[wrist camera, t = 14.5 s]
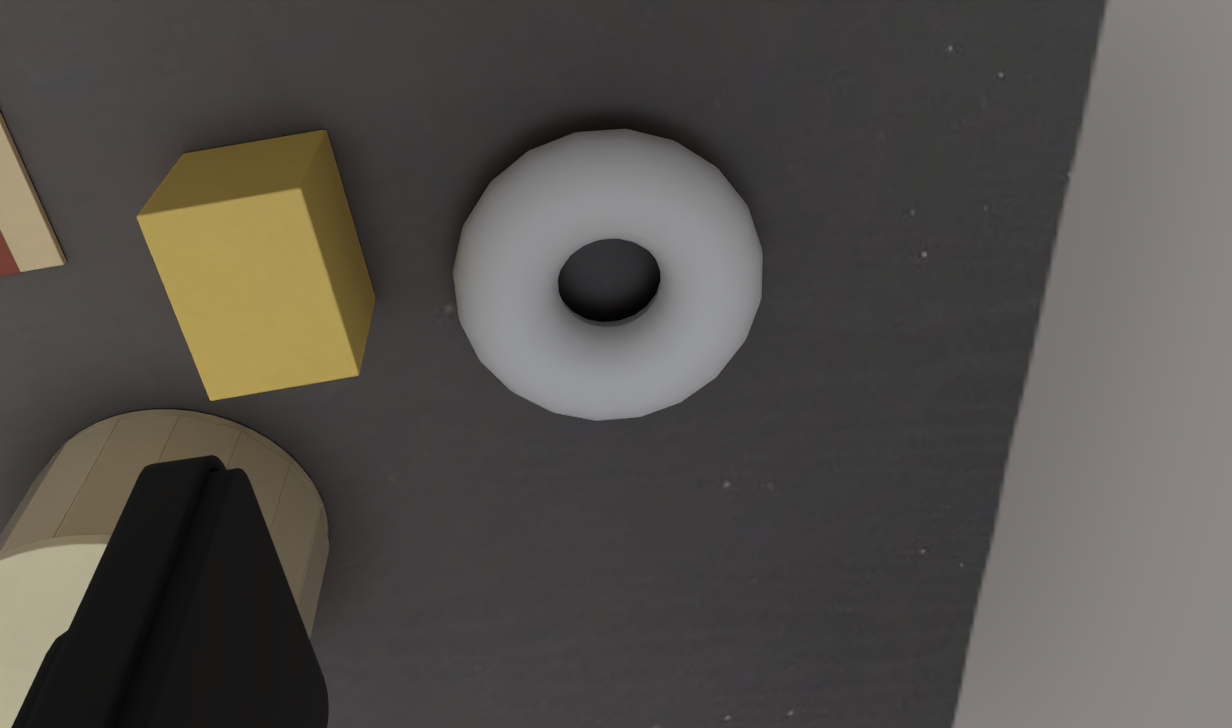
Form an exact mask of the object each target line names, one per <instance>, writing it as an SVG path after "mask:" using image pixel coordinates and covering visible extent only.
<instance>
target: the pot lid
mask: <svg viewBox="0 0 1232 728" xmlns="http://www.w3.org/2000/svg"><path fill="white" fill-rule="evenodd" d="M110 537H111V535H110V534H82V535H70V536H62V537H53V538H48V539H44V540H40V541H35V542H31V543H27V544H24V545H21V546H18V547H15V548H13V549H10V550H7V551H4V552H2V553H0V728H11V727H12V725H13V723H14V721H15V719H16V717H17V714H18V712H19V710H20V708H21V706H22V704H23V702H24V699H25V697H26V695H27V693H28V691H29V689H30V687H31V685H32V682H33V680H34V678H35V676H36V674H37V672H38V670H39V668H40V665H41V663H42V661H43V659H44V657H45V655H46V653H47V651H48V650H49V648H50V647H51V645H52V644H53V642H54V641H55V639H56V638H57V637H59V636H60V635H61V634H63V633H64V632H66V631H67V630H68V629H69V627H70V625H71V622H72V620H73V618H74V616H75V614H76V612H77V609H78V607H79V605H80V603H81V601H82V598H83V596H84V594H85V592H86V590H87V588H88V585H89V583H90V581H91V579H92V577H93V574H94V572H95V570H96V568H97V566H98V564H99V561H100V559H101V557H102V555H103V553H104V550H105V548H106V546H107V544H108V542H109V539H110Z"/></svg>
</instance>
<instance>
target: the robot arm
mask: <svg viewBox="0 0 1232 728" xmlns="http://www.w3.org/2000/svg"><path fill="white" fill-rule="evenodd" d="M327 724H328V694H327V688H326V683H325V680H324V677H323V674H322V671H321V669H320V666H319V663H318V661H317V658H316V655H315V653H314V650H313V647H312V645H311V642H310V639H309V637H308V634H307V631H306V629H305V626H304V623H303V621H302V618H301V615H300V613H299V610H298V607H297V605H296V602H295V599H294V597H293V594H292V591H291V589H290V586H289V583H288V581H287V578H286V575H285V573H284V570H283V567H282V565H281V562H280V559H279V557H278V554H277V551H276V549H275V546H274V543H273V541H272V538H271V535H270V533H269V530H268V527H267V525H266V522H265V519H264V517H263V514H262V511H261V509H260V506H259V503H258V501H257V498H256V495H255V493H254V490H253V487H252V485H251V482H250V480H249V478H248V476H247V474H246V473H245V471H244V470H243V469H240V468H234V469H228V470H227V469H226V467H225V465H224V463H223V462H222V461H221V460H220V459H219V458H218V457H217V456H214V455H208V456H201V457H195V458H188V459H181V460H174V461H167V462H161V463H154V464H150V465H147V466H145V467H144V468H143V470H142V471H141V473H140V474H139V476H138V478H137V481H136V483H135V485H134V487H133V489H132V491H131V494H130V496H129V498H128V500H127V502H126V505H125V507H124V509H123V511H122V513H121V515H120V518H119V520H118V522H117V524H116V526H115V529H114V531H113V533H112V535H111V537H110V539H109V542H108V544H107V546H106V548H105V550H104V553H103V555H102V557H101V559H100V561H99V564H98V566H97V568H96V570H95V572H94V574H93V577H92V579H91V581H90V583H89V585H88V588H87V590H86V592H85V594H84V596H83V598H82V601H81V603H80V605H79V607H78V609H77V612H76V614H75V616H74V618H73V620H72V622H71V625H70V627H69V629H68V630H67V631H66V632H64V633H63V634H61V635H60V636H59V637H57V638H56V639H55V641H54V642H53V644H52V645H51V647H50V648H49V650H48V651H47V653H46V655H45V657H44V659H43V661H42V663H41V665H40V668H39V670H38V672H37V674H36V676H35V678H34V680H33V682H32V685H31V687H30V689H29V691H28V693H27V695H26V697H25V699H24V702H23V704H22V706H21V708H20V710H19V712H18V714H17V717H16V719H15V721H14V723H13V725H12V727H11V728H327Z"/></svg>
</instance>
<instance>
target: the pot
mask: <svg viewBox="0 0 1232 728" xmlns="http://www.w3.org/2000/svg"><path fill="white" fill-rule="evenodd" d="M208 455H214V456H217V457H218V458H219V459H220V460H221V461H222V462H223V463H224V465H225V467H226V469H227V470H228V469H234V468H240V469H243V470H244V471H245V473H246V474H247V476H248V478H249V480H250V482H251V485H252V487H253V490H254V493H255V495H256V498H257V501H258V503H259V506H260V509H261V511H262V514H263V517H264V519H265V522H266V525H267V527H268V530H269V533H270V535H271V538H272V541H273V543H274V546H275V549H276V551H277V554H278V557H279V559H280V562H281V565H282V567H283V570H284V573H285V575H286V578H287V581H288V583H289V586H290V589H291V591H292V594H293V597H294V599H295V602H296V605H297V607H298V610H299V613H300V615H301V618H302V621H303V623H304V626H305V629H306V631H307V634H308V637H309V639H310V638H311V633H312V629H313V624H314V619H315V614H316V610H317V605H318V600H319V595H320V591H321V586H322V581H323V577H324V572H325V567H326V562H327V558H328V553H329V541H328V538H329V529H328V519H327V515H326V511H325V508H324V504H323V502H322V500H321V497H320V495H319V493H318V491H317V489H316V487H315V485H314V484H313V482H312V481H311V479H310V478H309V476H308V475H307V473H306V472H305V471H304V470H303V469H302V468H301V466H300V465H299V464H298V463H297V462H296V461H295V460H294V459H293V458H292V457H291V456H290V455H289V454H288V453H286V452H285V451H284V450H283V449H282V448H280V447H279V446H278V445H276V444H275V443H273V442H272V441H271V440H269V439H268V438H266V437H264V436H262V435H261V434H259V433H257V432H255V431H254V430H252V429H250V428H247V427H245V426H243V425H240V424H238V423H236V422H233V421H230V420H227V419H224V418H221V417H218V416H214V415H210V414H205V413H200V412H195V411H186V410H176V409H152V410H143V411H134V412H130V413H126V414H121V415H117V416H114V417H111V418H108V419H105V420H103V421H100V422H97V423H95V424H93V425H91V426H89V427H88V428H86V429H84V430H82V431H80V432H79V433H78V434H76V435H75V436H73V437H72V438H71V439H69V440H68V441H67V442H66V443H65V444H64V445H63V446H62V447H61V448H60V449H59V450H58V451H57V452H56V453H55V454H54V455H53V457H52V458H51V460H50V461H49V462H48V464H47V465H46V467H45V468H44V469H43V470H42V471H41V472H40V473H39V475H38V476H37V477H36V479H35V480H34V482H33V483H32V485H31V487H30V488H29V490H28V491H27V493H26V495H25V496H24V498H23V500H22V501H21V503H20V504H19V506H18V508H17V509H16V511H15V512H14V514H13V516H12V517H11V519H10V521H9V522H8V524H7V525H6V527H5V529H4V530H3V532H2V533H1V535H0V553H2V552H4V551H7V550H10V549H13V548H15V547H18V546H21V545H24V544H27V543H31V542H35V541H40V540H44V539H48V538H53V537H62V536H70V535H82V534H110V535H112V533H113V531H114V529H115V526H116V524H117V522H118V520H119V518H120V515H121V513H122V511H123V509H124V507H125V505H126V502H127V500H128V498H129V496H130V494H131V491H132V489H133V487H134V485H135V483H136V481H137V478H138V476H139V474H140V473H141V471H142V470H143V468H144V467H145V466H147V465H150V464H154V463H161V462H167V461H174V460H181V459H188V458H195V457H201V456H208Z"/></svg>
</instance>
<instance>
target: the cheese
mask: <svg viewBox="0 0 1232 728" xmlns="http://www.w3.org/2000/svg"><path fill="white" fill-rule="evenodd" d="M137 219H138V222H139V224H140V227H141V229H142V232H143V234H144V237H145V239H146V242H147V244H148V247H149V249H150V252H151V254H152V257H153V259H154V262H155V264H156V267H157V269H158V272H159V274H160V277H161V279H162V282H163V284H164V287H165V289H166V292H167V294H168V297H169V299H170V302H171V304H172V307H173V309H174V312H175V314H176V317H177V319H178V322H179V324H180V327H181V329H182V332H183V334H184V337H185V339H186V341H187V344H188V346H189V349H190V351H191V354H192V356H193V359H194V361H195V364H196V366H197V369H198V371H199V374H200V376H201V379H202V381H203V384H204V386H205V389H206V391H207V394H208V396H209V399H210V400H211V401H214V400H219V399H225V398H231V397H237V396H243V395H249V394H254V393H260V392H266V391H272V390H278V389H284V388H289V387H295V386H301V385H307V384H313V383H319V382H324V381H330V380H336V379H342V378H348V377H354V376H358V375H359V373H360V369H361V364H362V360H363V355H364V351H365V346H366V342H367V337H368V333H369V328H370V324H371V319H372V315H373V310H374V306H375V301H376V298H375V294H374V291H373V287H372V284H371V281H370V277H369V274H368V270H367V267H366V263H365V260H364V257H363V253H362V250H361V246H360V243H359V239H358V236H357V233H356V229H355V226H354V222H353V219H352V215H351V212H350V209H349V205H348V202H347V198H346V195H345V191H344V188H343V185H342V181H341V178H340V174H339V171H338V167H337V164H336V161H335V157H334V154H333V150H332V147H331V143H330V140H329V137H328V133H327V131H326V130H318V131H313V132H307V133H301V134H295V135H289V136H283V137H278V138H272V139H266V140H260V141H254V142H248V143H242V144H237V145H231V146H225V147H219V148H213V149H207V150H202V151H196V152H190V153H184V154H182V156H181V157H180V158H179V160H178V161H177V162H176V164H175V165H174V167H173V168H172V169H171V171H170V172H169V173H168V175H167V176H166V177H165V179H164V180H163V181H162V183H161V184H160V185H159V187H158V188H157V189H156V191H155V192H154V193H153V195H152V196H151V198H150V199H149V200H148V202H147V203H146V204H145V206H144V207H143V208H142V210H141V211H140V212H139V214H138V215H137Z"/></svg>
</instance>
